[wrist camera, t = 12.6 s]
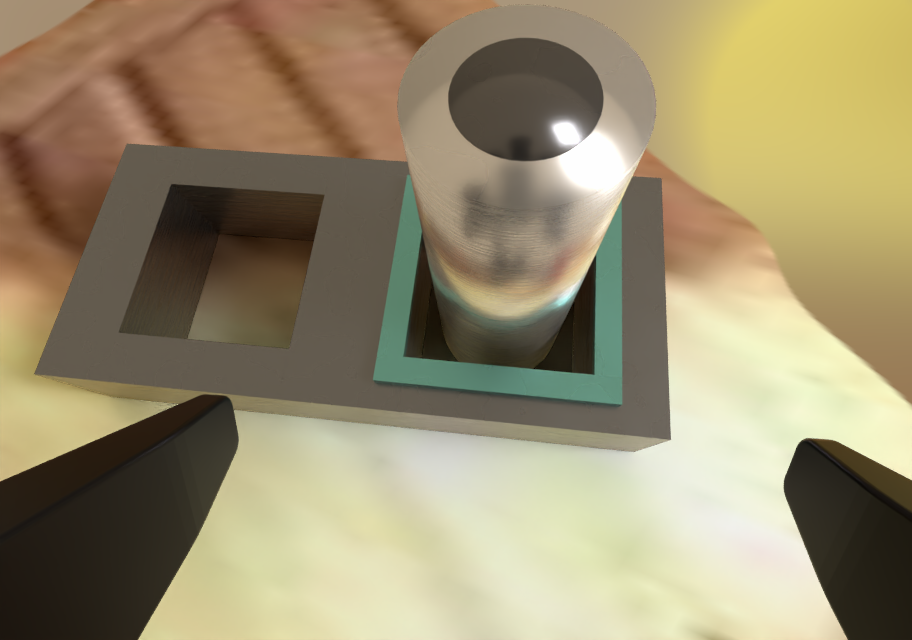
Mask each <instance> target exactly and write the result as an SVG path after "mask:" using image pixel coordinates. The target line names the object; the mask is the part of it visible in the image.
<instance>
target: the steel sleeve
mask: <svg viewBox="0 0 912 640" xmlns="http://www.w3.org/2000/svg"><path fill="white" fill-rule="evenodd" d="M397 108H398V119H399V124H400V129H401V134H402V138H403V143H404V148H405V153H406V157H407V162H408V167H409V172H410V177H411V181H412V186H413V191H414V196H415V200H416V205H417V210H418V215H419V219H420V224H421V229H422V234H423V238H424V243H425V248H426V253H427V258H428V262H429V267H430V272H431V277H432V281H433V286H434V291H435V296H436V300H437V305H438V310H439V315H440V320H441V324H442V329H443V334H444V338H445V341H446V343H447V346H448V348H449V349H450V351H451V353H452V354H453V355H454V357H455V358H456V359H457V360H458V361H459V362H464V363H474V364H485V365H495V366H506V367H517V368H527V369H533V368H534V367H536V366H537V365H538V364H539V363H540V362H541V361H542V360H543V359H544V358H545V357H546V356H547V354H548V353H549V351H550V350H551V348H552V346H553V344H554V342H555V339H556V337H557V335H558V333H559V331H560V329H561V327H562V325H563V322H564V320H565V318H566V316H567V314H568V312H569V310H570V308H571V305H572V303H573V301H574V299H575V297H576V295H577V293H578V291H579V289H580V286H581V284H582V282H583V280H584V278H585V276H586V274H587V272H588V269H589V267H590V265H591V263H592V261H593V259H594V257H595V255H596V252H597V250H598V248H599V246H600V244H601V242H602V240H603V238H604V235H605V233H606V231H607V229H608V227H609V225H610V223H611V221H612V218H613V216H614V214H615V212H616V210H617V208H618V206H619V204H620V201H621V199H622V197H623V195H624V193H625V191H626V189H627V187H628V184H629V182H630V180H631V178H632V176H633V174H634V172H635V170H636V167H637V165H638V163H639V161H640V159H641V157H642V155H643V153H644V150H645V148H646V146H647V144H648V142H649V139H650V136H651V134H652V131H653V128H654V123H655V118H656V98H655V91H654V87H653V83H652V81H651V77H650V75H649V73H648V71H647V69H646V67H645V65H644V63H643V61H642V60H641V58H640V57H639V56H638V54H637V53H636V51H635V50H634V49H633V48H632V47H631V46H630V45H629V44H628V43H627V42H626V41H625V40H624V39H623V38H621V37H620V36H619V35H618V34H617V33H615V32H614V31H613V30H611V29H609V28H608V27H606V26H605V25H603V24H601V23H600V22H598V21H595V20H594V19H591V18H589V17H587V16H584V15H582V14H579V13H576V12H573V11H569V10H566V9H562V8H557V7H551V6H544V5H529V4H526V5H508V6H500V7H495V8H490V9H486V10H482V11H479V12H476V13H473V14H470V15H467V16H465V17H463V18H461V19H459V20H456V21H454V22H453V23H451V24H449V25H448V26H446V27H444V28H443V29H441V30H440V31H439V32H437V33H436V34H435V35H433V36H432V37H431V38H430V39H429V40H428V41H427V42H426V43H425V44H424V45H423V46H422V47H421V48H420V49H419V50H418V52H417V53H416V54H415V55H414V57H413V58H412V60H411V61H410V63H409V65H408V66H407V68H406V70H405V73H404V75H403V78H402V80H401V84H400V88H399V93H398V105H397Z"/></svg>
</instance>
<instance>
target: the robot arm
mask: <svg viewBox="0 0 912 640" xmlns="http://www.w3.org/2000/svg"><path fill="white" fill-rule="evenodd" d="M238 441H239V437H238V431H237V426H236V420H235V415H234V410H233V405H232V402H231V400H230V398H228V397H227V396H224V395H211V394H203V395H200V396H197V397H195V398H193V399H190V400H188V401H186V402H183V403H181V404H179V405H176V406H174V407H172V408H169V409H167V410H165V411H162V412H160V413H158V414H156V415H153V416H151V417H149V418H146V419H144V420H142V421H139V422H137V423H135V424H132V425H130V426H128V427H125V428H123V429H121V430H118V431H116V432H114V433H112V434H109V435H107V436H105V437H102V438H100V439H98V440H95V441H93V442H91V443H88V444H86V445H84V446H81V447H79V448H77V449H75V450H72V451H70V452H68V453H65V454H63V455H61V456H58V457H56V458H54V459H51V460H49V461H47V462H44V463H42V464H40V465H37V466H35V467H33V468H31V469H28V470H26V471H24V472H21V473H19V474H17V475H14V476H12V477H10V478H7V479H5V480H3V481H0V640H138V639H139V637H140V635H141V634H142V632H143V630H144V628H145V627H146V625H147V623H148V621H149V620H150V618H151V616H152V615H153V613H154V611H155V609H156V608H157V606H158V604H159V602H160V601H161V599H162V597H163V596H164V594H165V592H166V590H167V589H168V587H169V585H170V584H171V582H172V580H173V578H174V577H175V575H176V573H177V571H178V570H179V568H180V566H181V565H182V563H183V561H184V559H185V558H186V556H187V554H188V552H189V551H190V549H191V547H192V545H193V544H194V542H195V540H196V538H197V536H198V534H199V532H200V530H201V528H202V526H203V524H204V522H205V520H206V518H207V516H208V513H209V511H210V509H211V507H212V505H213V502H214V500H215V498H216V496H217V493H218V491H219V489H220V487H221V485H222V482H223V480H224V478H225V476H226V473H227V471H228V469H229V467H230V465H231V462H232V460H233V458H234V456H235V453H236V451H237V447H238ZM784 493H785V497H786V499H787V502H788V504H789V507H790V509H791V512H792V515H793V517H794V520H795V522H796V525H797V527H798V530H799V532H800V535H801V537H802V540H803V542H804V545H805V547H806V550H807V552H808V555H809V557H810V560H811V562H812V565H813V567H814V570H815V572H816V575H817V577H818V580H819V582H820V584H821V587H822V589H823V591H824V593H825V595H826V597H827V600H828V602H829V604H830V606H831V608H832V610H833V612H834V614H835V616H836V618H837V620H838V622H839V623H840V625H841V627H842V629H843V631H844V633H845V635H846V637H847V639H848V640H912V480H910V479H908V478H906V477H904V476H902V475H900V474H898V473H896V472H894V471H893V470H891V469H889V468H887V467H885V466H883V465H881V464H879V463H877V462H875V461H873V460H871V459H869V458H868V457H866V456H864V455H862V454H860V453H858V452H856V451H854V450H852V449H850V448H848V447H846V446H844V445H843V444H841V443H839V442H836V441H833V440H827V439H812V438H806V439H804V440H802V441H801V442H800V443H799V444H798V446H797V448H796V450H795V453H794V456H793V458H792V461H791V463H790V466H789V468H788V471H787V473H786V476H785V479H784Z"/></svg>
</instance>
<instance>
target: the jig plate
mask: <svg viewBox="0 0 912 640" xmlns="http://www.w3.org/2000/svg"><path fill="white" fill-rule="evenodd" d="M219 234H231V235H244V236H257V237H270V238H283V239H296V240H308V241H314V243H313V247H312V252H311V256H310V260H309V265H308V269H307V273H306V278H305V282H304V286H303V291H302V295H301V299H300V304H299V308H298V312H297V317H296V321H295V326H294V330H293V334H292V339H291V343H290V347H289V349H284V348H274V347H263V346H253V345H242V344H232V343H221V342H211V341H200V340H190V339H187V337H188V334H189V330H190V327H191V324H192V321H193V317H194V314H195V311H196V307H197V304H198V301H199V298H200V294H201V291H202V288H203V284H204V281H205V278H206V275H207V271H208V268H209V265H210V261H211V258H212V255H213V252H214V248H215V245H216V242H217V238H218V235H219ZM431 286H432V277H431V272H430V267H429V262H428V258H427V253H426V248H425V243H424V238H423V234H422V229H421V224H420V219H419V215H418V210H417V205H416V200H415V196H414V191H413V186H412V181H411V177H410V172H409V167H408V162H401V161H386V160H370V159H355V158H340V157H324V156H309V155H293V154H278V153H262V152H247V151H231V150H216V149H200V148H185V147H169V146H154V145H139V144H127V145H126V147H125V150H124V152H123V155H122V157H121V160H120V162H119V165H118V167H117V170H116V172H115V175H114V177H113V180H112V182H111V185H110V187H109V190H108V192H107V195H106V197H105V199H104V202H103V204H102V207H101V209H100V212H99V214H98V217H97V219H96V222H95V224H94V227H93V229H92V232H91V234H90V237H89V239H88V242H87V244H86V247H85V249H84V252H83V254H82V257H81V259H80V262H79V264H78V267H77V269H76V272H75V274H74V277H73V279H72V281H71V284H70V286H69V289H68V291H67V294H66V296H65V299H64V301H63V304H62V306H61V309H60V311H59V314H58V316H57V319H56V321H55V324H54V326H53V329H52V331H51V334H50V336H49V339H48V341H47V344H46V346H45V349H44V351H43V354H42V356H41V358H40V361H39V363H38V366H37V368H36V371H35V373H34V374H35V375H38V376H42V377H45V378H49V379H52V380H56V381H59V382H62V383H66V384H69V385H73V386H76V387H80V388H83V389H87V390H90V391H93V392H97V393H100V394H104V395H107V396H111V397H119V398H128V399H138V400H147V401H157V402H166V403H176V404H181V403H183V402H186V401H188V400H190V399H193V398H195V397H197V396H200V395H203V394H211V395H224V396H227V397H228V398H230V400H231V402H232V405H233V410H242V411H252V412H261V413H271V414H280V415H290V416H299V417H309V418H318V419H328V420H337V421H347V422H356V423H366V424H375V425H385V426H394V427H404V428H413V429H423V430H432V431H442V432H451V433H461V434H470V435H480V436H489V437H499V438H508V439H518V440H527V441H537V442H546V443H556V444H565V445H575V446H584V447H594V448H603V449H613V450H622V451H632V452H635V451H638V450H641V449H644V448H647V447H650V446H653V445H657V444H660V443H663V442H666V441H669V440H671V433H670V405H669V377H668V349H667V321H666V293H665V264H664V236H663V208H662V180H661V178H649V177H633V176H632V178H631V180H630V182H629V184H628V187H627V189H626V191H625V193H624V195H623V197H622V199H621V201H620V204H619V206H618V208H617V210H616V212H615V214H614V216H613V218H612V221H611V223H610V225H609V227H608V229H607V231H606V233H605V235H604V238H603V240H602V242H601V244H600V246H599V248H598V250H597V252H596V255H595V257H594V259H593V261H592V263H591V265H590V267H589V269H588V272H587V274H586V276H585V278H584V280H583V282H582V284H581V286H580V289H579V291H578V293H577V295H576V297H575V299H574V326H573V358H572V373H570V372H559V371H548V370H538V369H527V368H517V367H506V366H495V365H485V364H474V363H464V362H453V361H443V360H432V359H422V352H423V344H424V337H425V330H426V322H427V315H428V308H429V300H430V293H431Z"/></svg>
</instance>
